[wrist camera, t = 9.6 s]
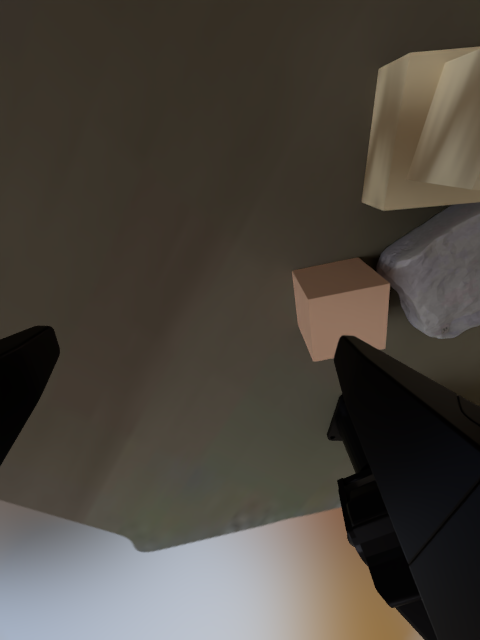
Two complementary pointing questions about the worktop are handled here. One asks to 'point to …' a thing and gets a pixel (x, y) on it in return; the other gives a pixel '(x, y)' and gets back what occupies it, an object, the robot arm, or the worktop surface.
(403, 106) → the oak base block
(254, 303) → the worktop surface
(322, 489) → the worktop surface
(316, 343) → the terracotta block
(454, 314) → the stone block
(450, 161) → the beech block
